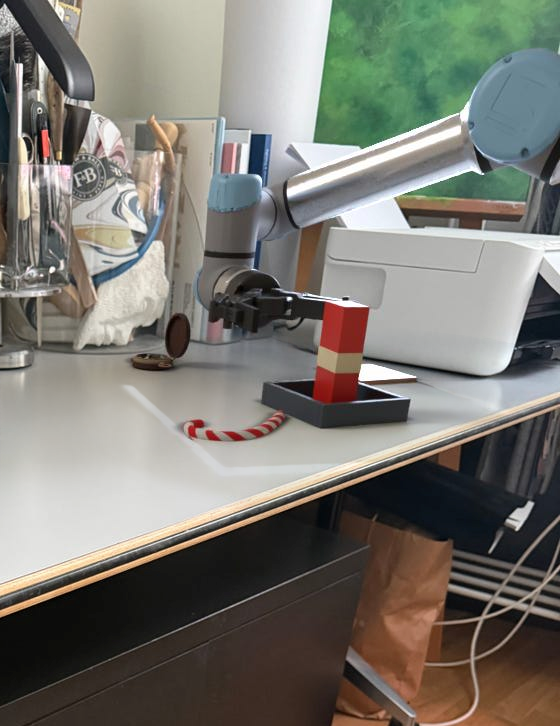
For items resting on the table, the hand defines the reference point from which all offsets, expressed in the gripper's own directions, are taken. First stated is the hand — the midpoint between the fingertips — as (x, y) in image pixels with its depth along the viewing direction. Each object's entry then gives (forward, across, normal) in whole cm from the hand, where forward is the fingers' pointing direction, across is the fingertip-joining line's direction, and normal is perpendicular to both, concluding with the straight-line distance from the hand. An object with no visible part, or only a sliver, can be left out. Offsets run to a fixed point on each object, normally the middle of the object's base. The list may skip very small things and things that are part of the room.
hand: (308, 320), depth 114 cm
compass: (-21, +12, -10) cm, 26 cm away
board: (-10, -14, -9) cm, 20 cm away
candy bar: (+9, 0, -9) cm, 13 cm away
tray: (+10, 0, -9) cm, 13 cm away
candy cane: (+15, +13, -10) cm, 22 cm away
